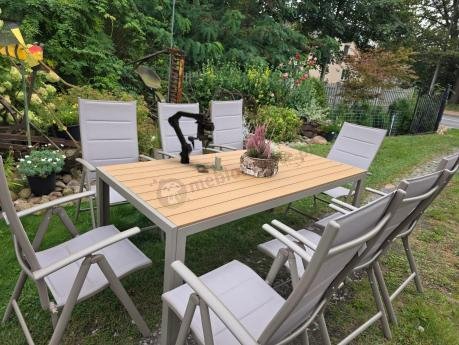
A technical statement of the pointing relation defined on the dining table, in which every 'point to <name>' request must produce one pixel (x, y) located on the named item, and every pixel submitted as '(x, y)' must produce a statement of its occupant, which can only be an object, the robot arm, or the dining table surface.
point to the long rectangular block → (218, 162)
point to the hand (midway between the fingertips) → (199, 149)
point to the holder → (215, 167)
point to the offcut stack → (203, 171)
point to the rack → (200, 166)
